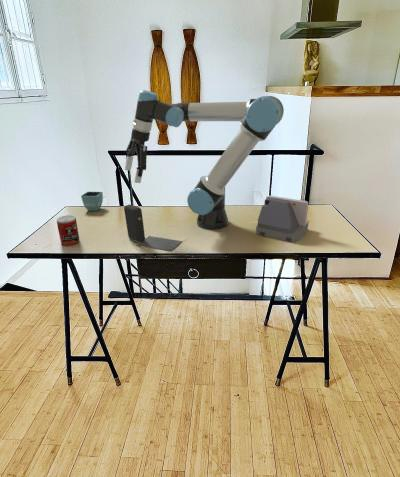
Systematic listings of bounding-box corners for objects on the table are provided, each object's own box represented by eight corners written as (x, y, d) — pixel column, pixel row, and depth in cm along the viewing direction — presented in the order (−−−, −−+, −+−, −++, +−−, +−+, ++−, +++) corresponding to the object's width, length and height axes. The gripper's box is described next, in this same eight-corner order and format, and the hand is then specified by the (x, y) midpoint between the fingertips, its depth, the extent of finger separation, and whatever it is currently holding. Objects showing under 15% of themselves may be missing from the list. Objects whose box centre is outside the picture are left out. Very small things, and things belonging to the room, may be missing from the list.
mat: (181, 241, 148) (181, 241, 148) (171, 251, 139) (171, 250, 139) (149, 236, 153) (148, 235, 153) (137, 245, 145) (137, 244, 145)
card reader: (147, 240, 148) (142, 207, 142) (138, 243, 146) (134, 209, 140) (135, 235, 154) (131, 203, 149) (127, 238, 152) (122, 205, 146)
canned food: (62, 247, 144) (57, 223, 139) (59, 240, 150) (55, 217, 146) (81, 243, 147) (77, 219, 143) (77, 237, 154) (74, 214, 149)
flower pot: (89, 206, 193) (87, 191, 190) (104, 207, 192) (102, 191, 189) (82, 211, 185) (80, 195, 182) (98, 212, 184) (96, 196, 181)
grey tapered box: (313, 231, 158) (318, 199, 152) (291, 245, 144) (294, 211, 138) (273, 220, 171) (275, 191, 165) (249, 232, 157) (250, 201, 151)
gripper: (124, 119, 153) (116, 164, 163) (143, 138, 135) (133, 187, 145) (140, 122, 157) (131, 165, 167) (160, 141, 139) (149, 188, 149)
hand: (132, 176), depth 156 cm, fingers open, 13 cm apart
